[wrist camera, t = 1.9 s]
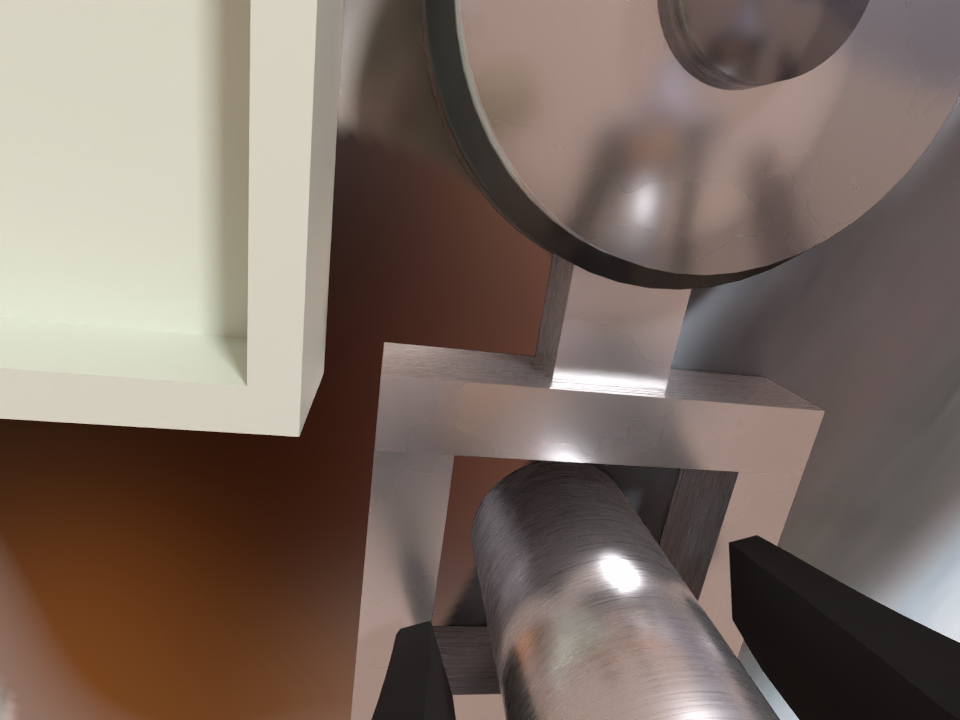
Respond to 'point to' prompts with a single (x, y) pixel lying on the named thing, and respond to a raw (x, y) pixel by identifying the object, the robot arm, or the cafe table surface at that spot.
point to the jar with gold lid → (595, 609)
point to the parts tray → (166, 210)
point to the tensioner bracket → (639, 262)
